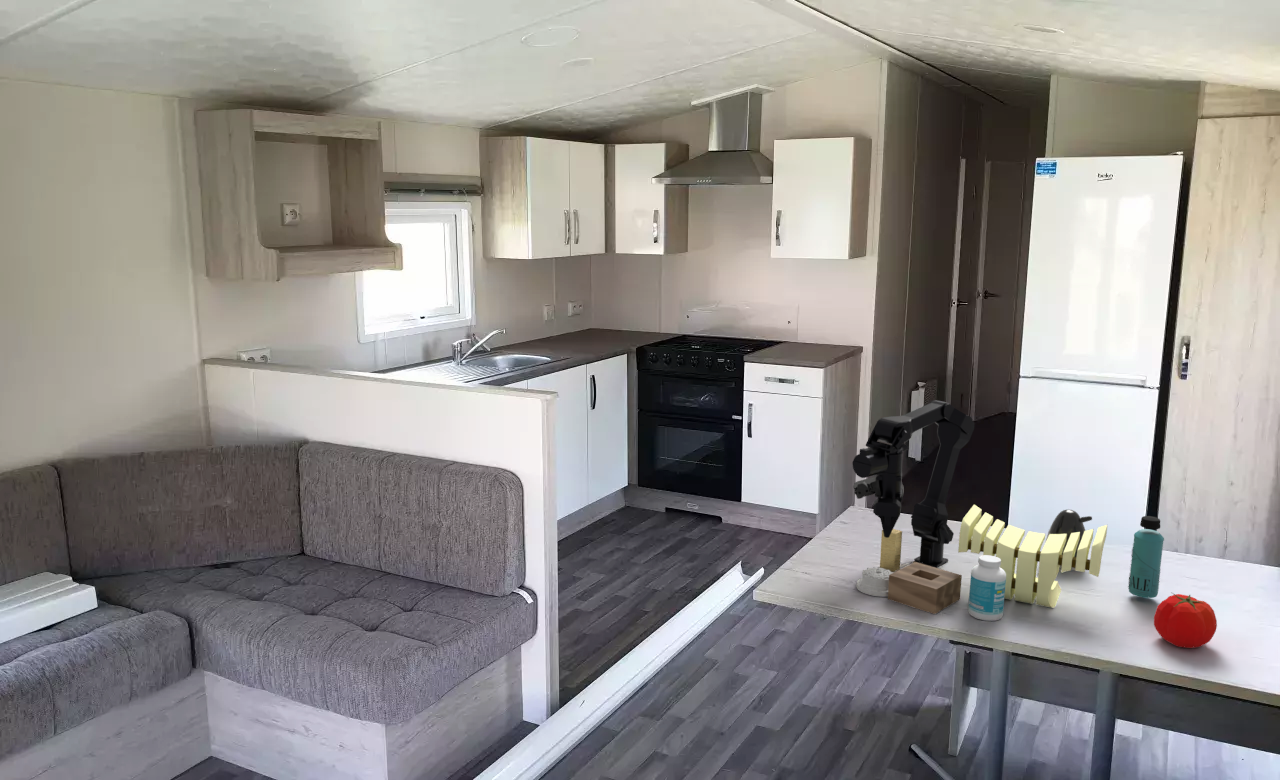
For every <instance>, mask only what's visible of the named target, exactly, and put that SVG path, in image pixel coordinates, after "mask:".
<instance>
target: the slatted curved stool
mask: <svg viewBox="0 0 1280 780" xmlns="http://www.w3.org/2000/svg"><path fill="white" fill-rule="evenodd" d="M982 513H983V512H982V508H980V507H978V506H977V505H976V504H973V505H972V506H971V507H970V509H969V510H968V512H967V513H966V514H965V516H964V517H963V518H962V521H961V524H960V529H959V535H958V536H959V538H958V550H957V551H958V554H959V553H967V552H968V551H970V553H973V554H978V555H980V553H983V555H991V556H995V557H998V558H1000V559H1001V565H1000V568H1002V569H1003V570H1004V571H1005V573H1006V585H1005V596H1004V600H1005V599H1006V600H1009V601H1010V600H1012V599H1014V601H1016V602H1021V603H1024V604H1025V603H1026V604H1031V605H1033V604H1034V602H1036V603H1035V604H1036V605H1037V606H1040V607H1041V606H1042V607H1047V608H1051V609H1055V608H1056V605H1057V604H1058V603H1057V602H1058V600H1059V597H1060V594H1061V592H1062V588H1061V586H1060V583H1059V581H1058V580H1056V578H1057V576H1058V574H1059V571H1060V570H1061V574H1062V573H1065V572H1070V571H1072V570H1071V568H1072V567H1073V568H1075V570H1074V571H1076V572H1081V573H1085V572H1086V571H1089V572H1088V574H1090V575H1093V576H1095V577H1097V578H1099V575H1100V571H1101V564H1102V557H1103V553H1104V546H1105V542H1106V538H1107V533H1108V524H1105V525H1102V526H1099V527H1097V531H1096V534H1095V536H1094V528H1092V529H1088V530H1087V529H1085V531H1084V534H1083V537H1082V539H1081V542H1080V545H1079V547H1078V550H1077V557H1074V556H1075V552H1076V548H1077V545H1078V542H1079V538H1080V532H1076V533H1071V535H1070V537H1069V540H1068V542H1067V545H1066V547H1065V550H1064V552H1063V548H1064V546H1065V543H1066V537H1067V534H1049V536H1048V539H1047V541H1046V533H1043V532H1035V531H1029V530H1028V532H1027V534H1026V536H1025V532H1026V530H1025V529H1024V528H1019V527H1017V526H1014V525H1012V524H1008V525H1007V526H1006V527H1005V525H1006V524H1005V523H1006V522H1004V521H1003V520H1000V519H998V518H997V519H995V521H994V516H993V515H991V514H989V513H987V512H984V514H983V515H982ZM993 521H994V522H993ZM1004 529H1005V530H1004ZM1002 533H1003V534H1002ZM1024 536H1025V537H1024ZM1023 538H1024V539H1023ZM1093 538H1094V539H1093ZM1044 541H1045V542H1046V543H1045V542H1044ZM1092 541H1093V543H1092ZM1043 544H1044V545H1043ZM1091 544H1092V545H1091ZM1042 546H1043V547H1042ZM1041 548H1042V549H1041ZM1090 548H1091V551H1090ZM1062 552H1063V555H1062ZM1089 553H1090V558H1089ZM1088 558H1089V559H1088ZM1038 562H1039V564H1038ZM1059 565H1061V566H1062V569H1059ZM1037 568H1038V569H1037ZM1015 570H1016V573H1015ZM1037 570H1038V576H1037ZM1036 576H1037V577H1036Z"/></svg>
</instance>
